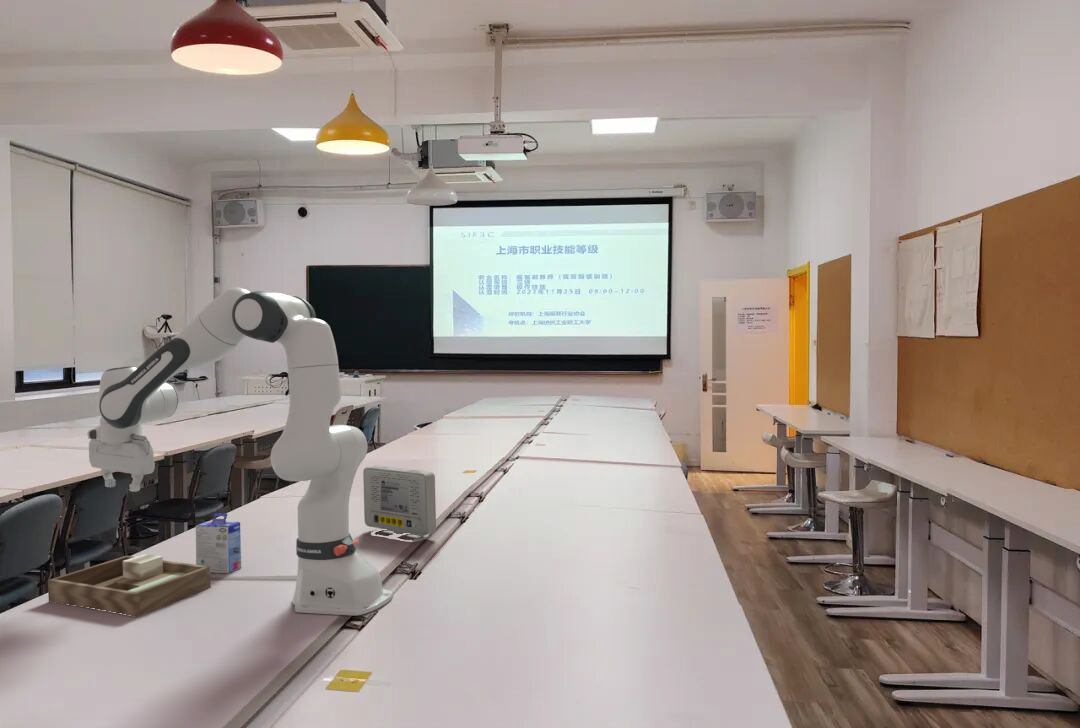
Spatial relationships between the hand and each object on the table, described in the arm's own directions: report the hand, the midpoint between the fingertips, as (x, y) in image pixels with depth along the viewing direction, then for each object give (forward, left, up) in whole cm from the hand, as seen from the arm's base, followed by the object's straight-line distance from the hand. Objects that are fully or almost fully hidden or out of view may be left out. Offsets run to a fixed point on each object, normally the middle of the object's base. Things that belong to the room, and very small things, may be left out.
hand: (122, 488), depth 178 cm
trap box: (-9, +5, -23) cm, 25 cm away
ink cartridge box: (-14, -16, -24) cm, 32 cm away
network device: (-40, -59, -24) cm, 75 cm away
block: (-7, +1, -20) cm, 22 cm away
